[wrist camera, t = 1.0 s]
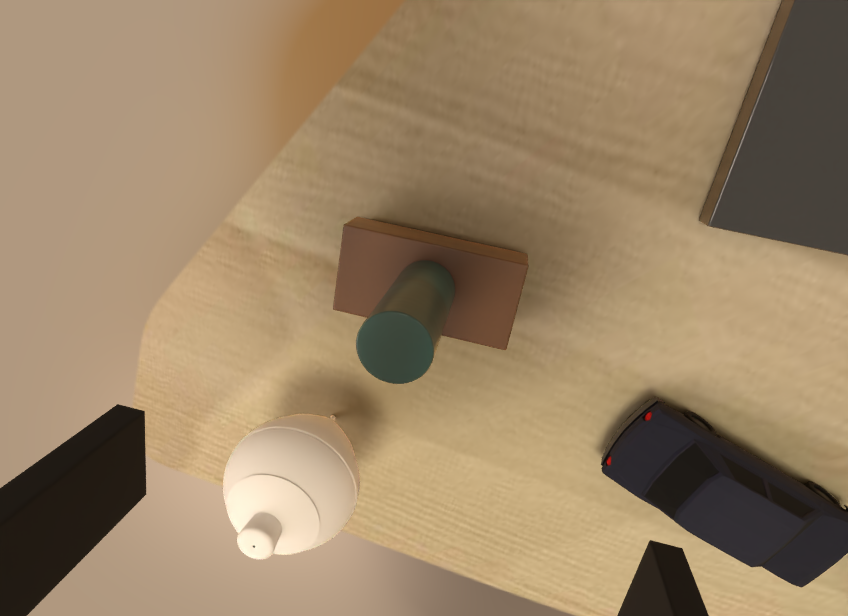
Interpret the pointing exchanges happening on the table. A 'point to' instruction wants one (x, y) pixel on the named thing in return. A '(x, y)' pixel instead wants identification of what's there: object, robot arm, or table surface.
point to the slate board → (791, 136)
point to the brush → (423, 294)
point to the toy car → (727, 494)
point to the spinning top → (290, 485)
